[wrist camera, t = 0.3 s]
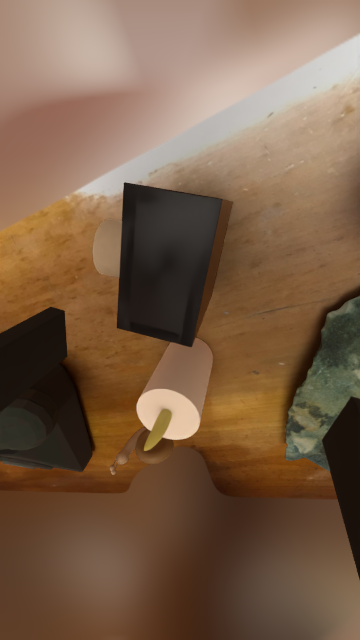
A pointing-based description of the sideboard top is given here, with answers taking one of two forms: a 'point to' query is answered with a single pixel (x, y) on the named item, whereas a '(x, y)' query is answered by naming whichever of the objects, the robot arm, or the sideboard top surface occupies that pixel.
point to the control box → (168, 261)
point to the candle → (176, 393)
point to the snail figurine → (149, 456)
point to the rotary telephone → (46, 426)
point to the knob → (108, 247)
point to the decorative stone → (326, 385)
